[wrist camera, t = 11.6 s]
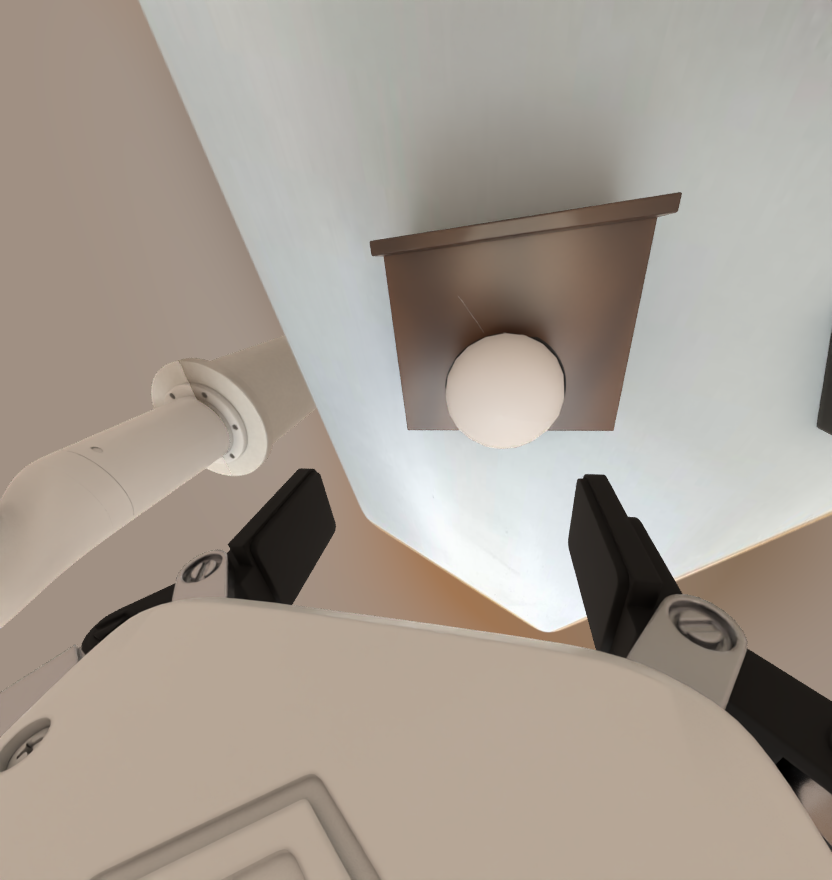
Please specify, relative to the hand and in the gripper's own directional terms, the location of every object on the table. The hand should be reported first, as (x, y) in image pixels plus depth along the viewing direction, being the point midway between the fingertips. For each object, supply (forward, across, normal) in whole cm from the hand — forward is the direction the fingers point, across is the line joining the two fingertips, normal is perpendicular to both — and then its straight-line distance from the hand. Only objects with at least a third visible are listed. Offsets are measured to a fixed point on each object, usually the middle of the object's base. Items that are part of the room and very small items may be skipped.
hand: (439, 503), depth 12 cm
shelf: (+22, -3, -2) cm, 23 cm away
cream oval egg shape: (+15, -2, -2) cm, 15 cm away
